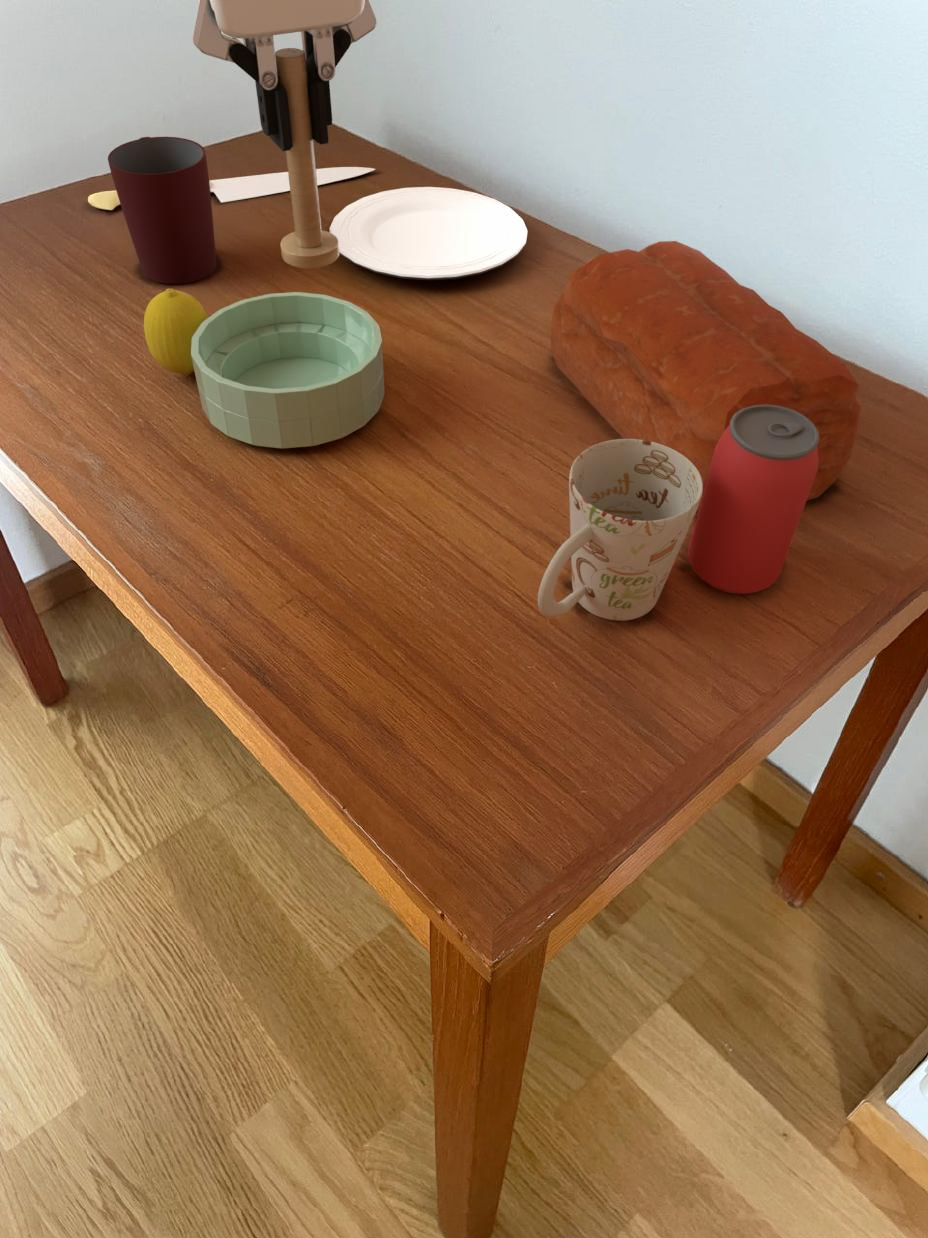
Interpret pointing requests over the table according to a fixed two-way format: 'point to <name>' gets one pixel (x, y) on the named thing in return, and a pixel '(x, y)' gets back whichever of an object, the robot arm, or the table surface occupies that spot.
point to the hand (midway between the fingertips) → (298, 138)
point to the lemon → (173, 329)
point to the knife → (246, 185)
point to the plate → (429, 233)
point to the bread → (694, 356)
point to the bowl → (289, 369)
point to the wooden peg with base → (302, 171)
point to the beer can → (754, 498)
